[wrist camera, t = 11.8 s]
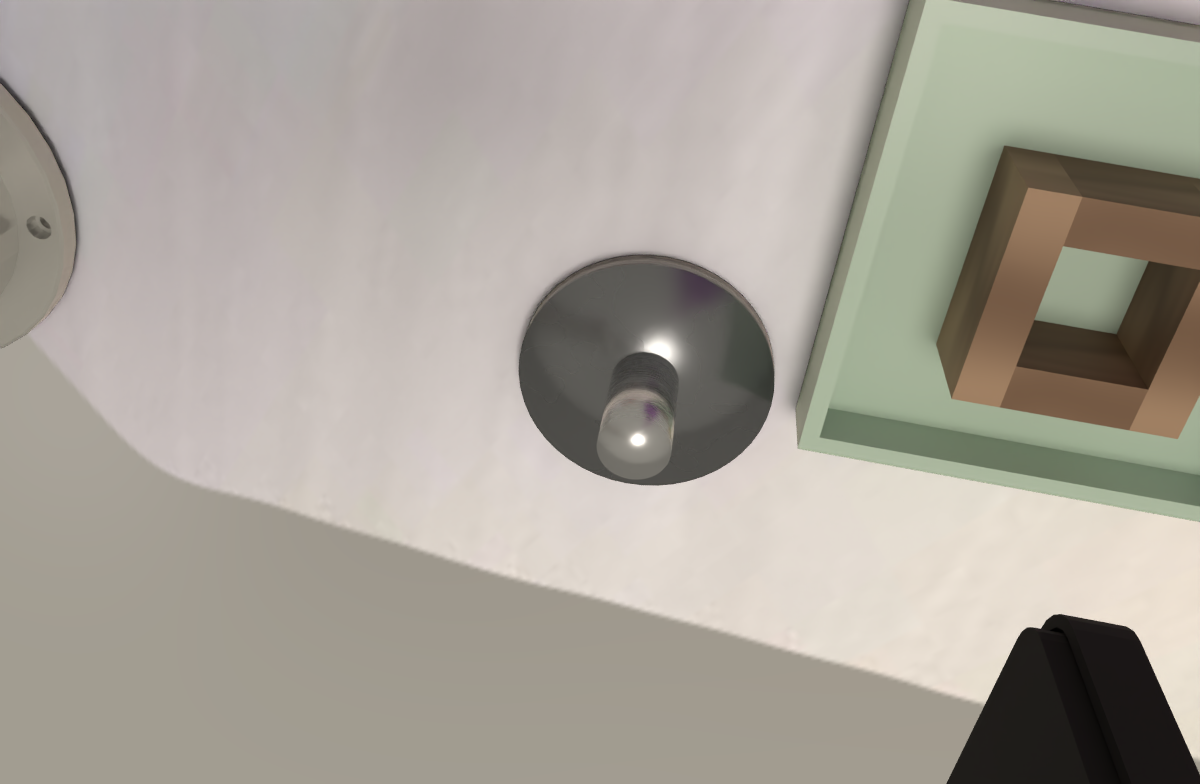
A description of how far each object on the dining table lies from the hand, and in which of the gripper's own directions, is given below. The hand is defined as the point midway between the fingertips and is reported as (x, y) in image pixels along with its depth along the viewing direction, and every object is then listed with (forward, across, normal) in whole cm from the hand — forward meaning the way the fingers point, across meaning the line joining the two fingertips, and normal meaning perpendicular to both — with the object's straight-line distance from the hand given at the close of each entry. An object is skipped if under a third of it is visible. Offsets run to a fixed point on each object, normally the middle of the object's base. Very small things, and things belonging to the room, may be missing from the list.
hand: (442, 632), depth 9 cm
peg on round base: (+28, -2, +13) cm, 31 cm away
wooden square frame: (+27, -15, +6) cm, 31 cm away
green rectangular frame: (+27, -15, +6) cm, 32 cm away
